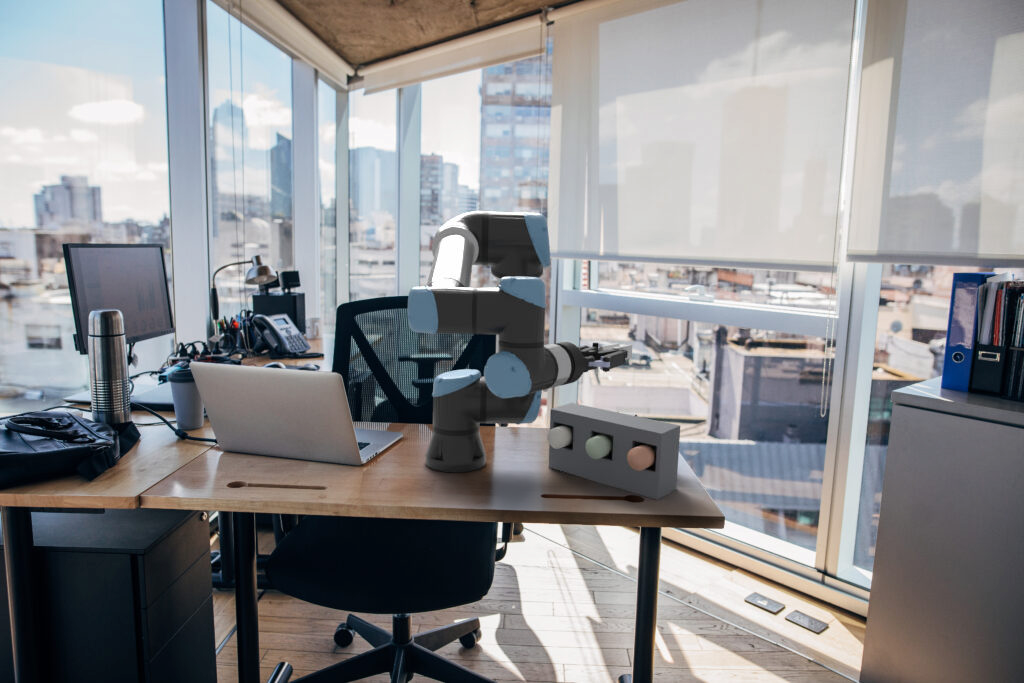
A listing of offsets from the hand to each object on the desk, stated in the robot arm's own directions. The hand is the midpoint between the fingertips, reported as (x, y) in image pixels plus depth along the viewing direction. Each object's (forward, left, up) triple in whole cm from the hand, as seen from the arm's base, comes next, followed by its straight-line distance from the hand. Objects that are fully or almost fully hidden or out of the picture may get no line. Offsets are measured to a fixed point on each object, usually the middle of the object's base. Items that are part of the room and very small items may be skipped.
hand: (624, 350), depth 133 cm
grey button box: (+5, +18, -34) cm, 39 cm away
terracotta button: (+8, +6, -27) cm, 29 cm away
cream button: (-6, +23, -28) cm, 37 cm away
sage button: (+1, +15, -27) cm, 31 cm away
